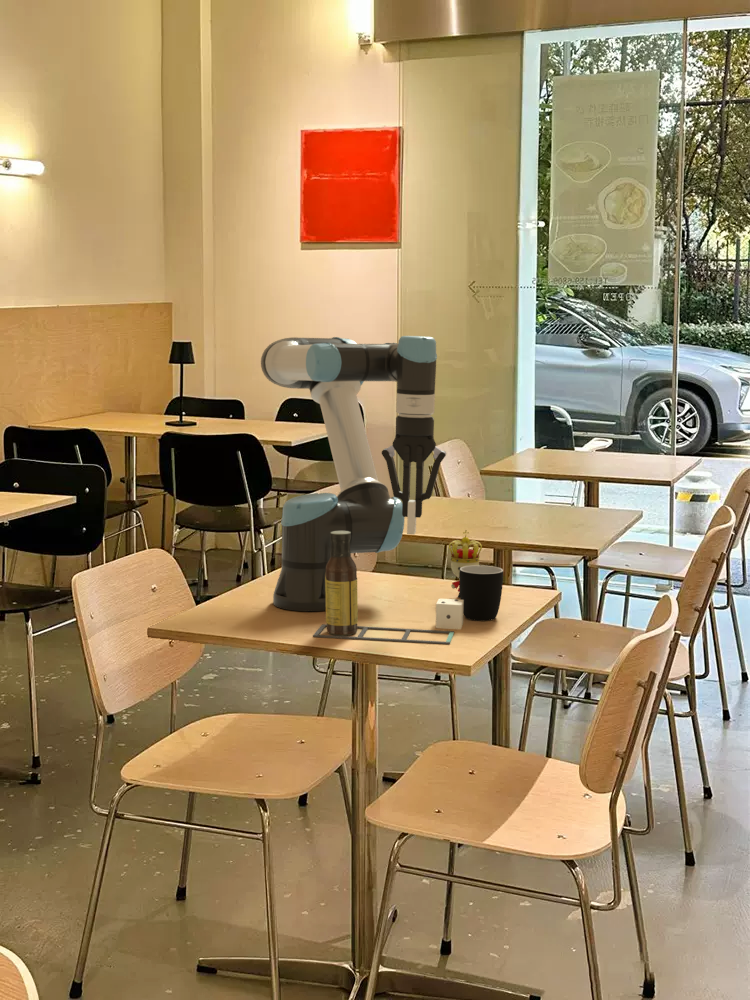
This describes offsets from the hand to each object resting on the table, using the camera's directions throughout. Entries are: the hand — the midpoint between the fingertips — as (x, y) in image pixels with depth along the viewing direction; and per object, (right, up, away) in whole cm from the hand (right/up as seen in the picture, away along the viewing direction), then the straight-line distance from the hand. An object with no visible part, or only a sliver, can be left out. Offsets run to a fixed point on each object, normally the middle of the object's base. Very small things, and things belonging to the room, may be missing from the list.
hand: (411, 533), depth 252 cm
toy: (+12, -15, +28) cm, 34 cm away
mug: (+14, -18, +10) cm, 24 cm away
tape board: (-5, -19, -7) cm, 22 cm away
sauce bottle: (-14, -19, -6) cm, 25 cm away
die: (+8, -19, +1) cm, 20 cm away
